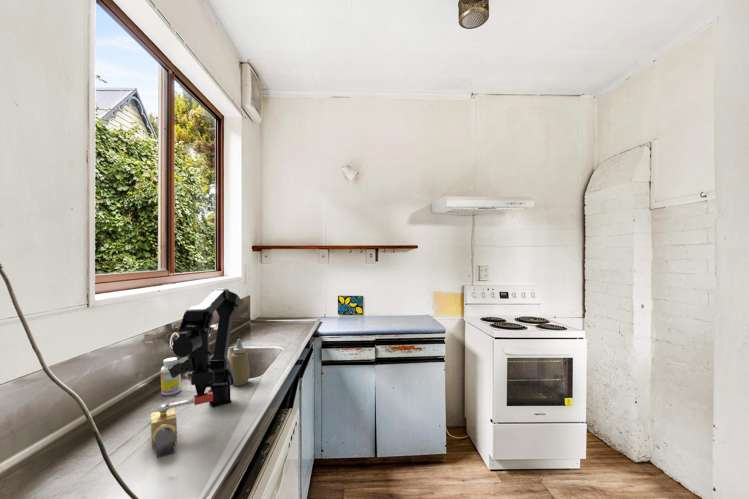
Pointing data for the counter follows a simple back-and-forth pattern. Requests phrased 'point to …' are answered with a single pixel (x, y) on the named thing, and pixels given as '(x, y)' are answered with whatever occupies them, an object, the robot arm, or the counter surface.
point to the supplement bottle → (169, 379)
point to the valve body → (164, 431)
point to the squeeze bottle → (240, 364)
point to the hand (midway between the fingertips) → (200, 397)
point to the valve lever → (187, 401)
